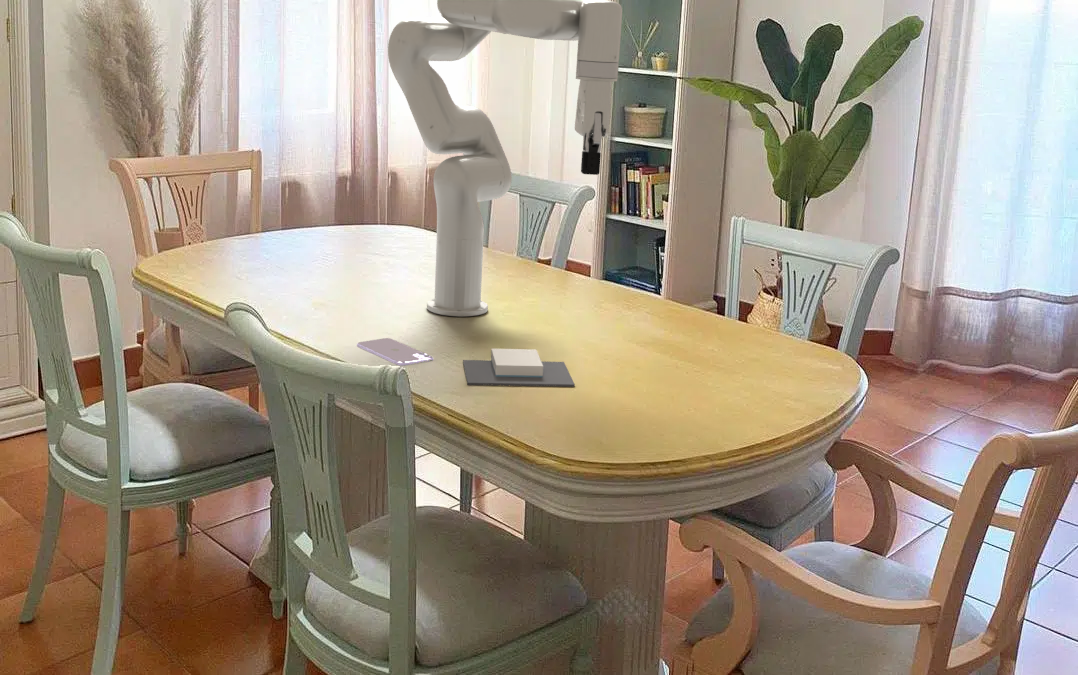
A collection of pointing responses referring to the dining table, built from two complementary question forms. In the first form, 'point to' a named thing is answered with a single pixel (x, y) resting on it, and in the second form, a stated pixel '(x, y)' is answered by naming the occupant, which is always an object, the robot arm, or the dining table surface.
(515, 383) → the mat
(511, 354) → the tile
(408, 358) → the mobile phone
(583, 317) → the dining table surface
